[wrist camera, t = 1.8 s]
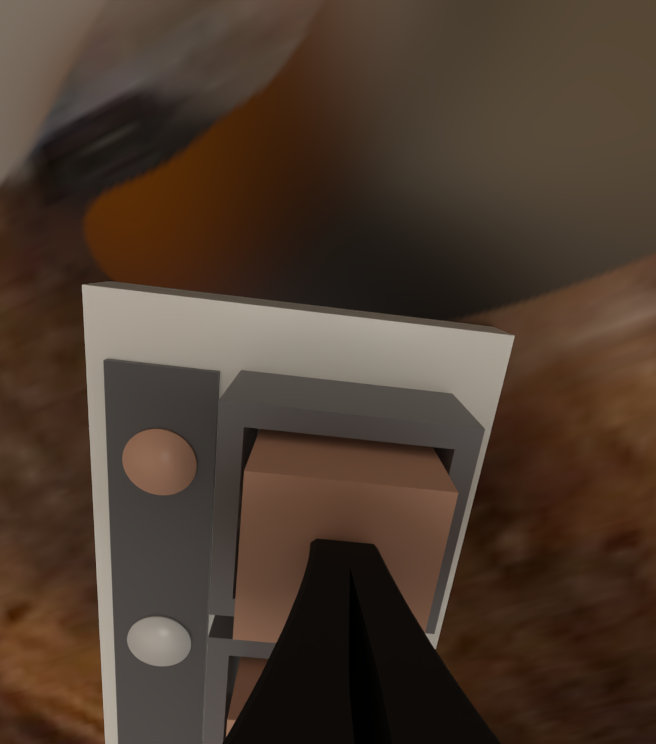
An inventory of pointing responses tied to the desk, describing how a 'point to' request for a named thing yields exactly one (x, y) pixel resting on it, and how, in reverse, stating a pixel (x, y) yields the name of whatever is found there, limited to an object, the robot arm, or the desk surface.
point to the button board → (242, 465)
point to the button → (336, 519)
